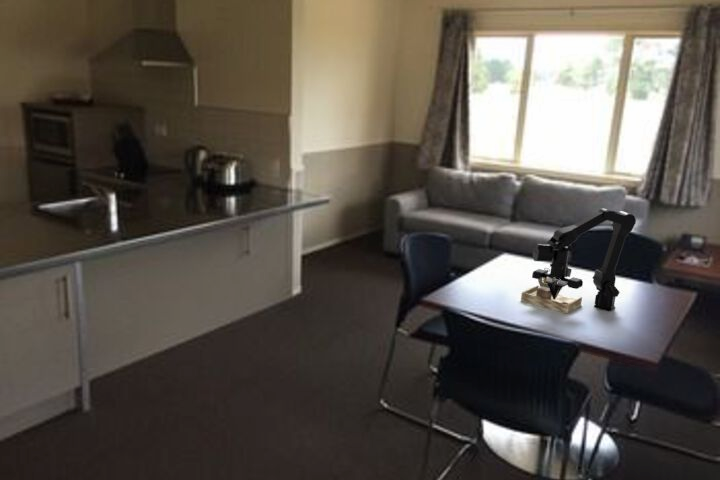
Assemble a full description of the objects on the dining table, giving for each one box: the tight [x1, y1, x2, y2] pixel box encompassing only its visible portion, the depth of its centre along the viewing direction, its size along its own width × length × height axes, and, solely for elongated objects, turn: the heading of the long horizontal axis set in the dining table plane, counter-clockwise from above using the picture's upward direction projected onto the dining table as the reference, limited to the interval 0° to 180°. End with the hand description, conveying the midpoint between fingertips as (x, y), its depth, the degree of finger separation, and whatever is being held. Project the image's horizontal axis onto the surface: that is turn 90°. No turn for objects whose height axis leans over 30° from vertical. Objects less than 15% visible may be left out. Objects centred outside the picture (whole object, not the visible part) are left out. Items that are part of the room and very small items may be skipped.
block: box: [536, 286, 552, 300], centre depth 244 cm, size 4×4×4 cm
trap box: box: [520, 284, 583, 314], centre depth 247 cm, size 20×14×4 cm
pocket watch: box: [537, 267, 551, 288], centre depth 265 cm, size 8×8×10 cm
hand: (554, 299), depth 242 cm, fingers closed
